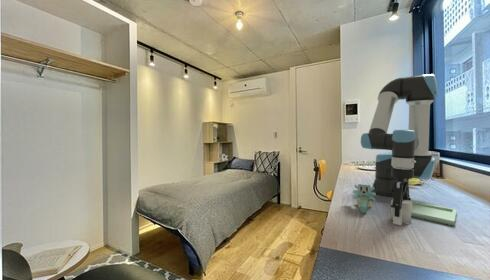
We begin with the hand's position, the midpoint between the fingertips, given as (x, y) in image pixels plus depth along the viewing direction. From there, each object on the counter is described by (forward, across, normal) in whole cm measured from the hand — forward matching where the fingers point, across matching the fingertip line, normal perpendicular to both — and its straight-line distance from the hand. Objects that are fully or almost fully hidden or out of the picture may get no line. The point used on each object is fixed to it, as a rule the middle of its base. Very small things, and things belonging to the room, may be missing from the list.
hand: (400, 219), depth 93 cm
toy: (+1, +3, +15) cm, 15 cm away
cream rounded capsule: (0, 0, 0) cm, 0 cm away
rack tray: (0, +16, -6) cm, 17 cm away
